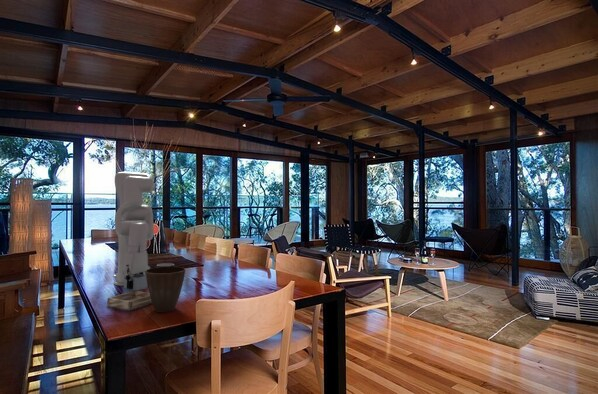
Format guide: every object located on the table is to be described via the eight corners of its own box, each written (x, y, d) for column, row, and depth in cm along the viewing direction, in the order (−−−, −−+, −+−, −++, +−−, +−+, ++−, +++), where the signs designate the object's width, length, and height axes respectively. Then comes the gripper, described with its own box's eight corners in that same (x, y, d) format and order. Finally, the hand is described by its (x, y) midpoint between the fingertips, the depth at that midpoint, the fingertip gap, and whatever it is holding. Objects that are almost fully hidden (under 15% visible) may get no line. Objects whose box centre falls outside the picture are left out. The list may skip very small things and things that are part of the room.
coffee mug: (177, 282, 180) (177, 264, 180) (165, 286, 172) (166, 266, 172) (159, 280, 184) (160, 262, 184) (147, 284, 176) (148, 264, 176)
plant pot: (143, 317, 125) (145, 274, 126) (144, 305, 139) (146, 267, 139) (185, 313, 131) (187, 272, 132) (182, 302, 145) (183, 265, 145)
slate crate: (123, 288, 156) (124, 275, 155) (134, 285, 161) (135, 273, 161) (136, 291, 153) (137, 278, 153) (147, 288, 158) (147, 275, 158)
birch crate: (107, 306, 137) (107, 298, 137) (134, 298, 149) (134, 290, 149) (129, 311, 132) (130, 302, 132) (155, 302, 145) (156, 294, 145)
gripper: (145, 245, 166) (144, 281, 166) (115, 250, 150) (113, 290, 150) (157, 247, 163) (155, 283, 164) (127, 252, 147) (126, 293, 147)
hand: (135, 286), depth 157 cm, fingers closed on slate crate, 6 cm apart
